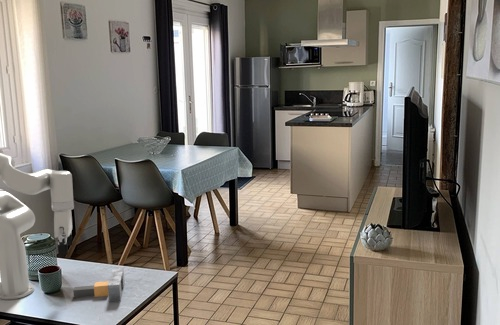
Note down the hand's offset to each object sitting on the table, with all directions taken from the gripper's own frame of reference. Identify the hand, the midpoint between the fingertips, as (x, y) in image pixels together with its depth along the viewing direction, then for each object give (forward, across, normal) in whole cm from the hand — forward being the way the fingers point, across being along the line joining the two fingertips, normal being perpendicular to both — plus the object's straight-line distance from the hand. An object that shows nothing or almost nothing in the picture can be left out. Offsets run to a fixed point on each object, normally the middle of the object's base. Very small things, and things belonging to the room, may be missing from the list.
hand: (65, 249), depth 185 cm
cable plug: (+18, +2, +9) cm, 20 cm away
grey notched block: (+17, +2, +18) cm, 25 cm away
